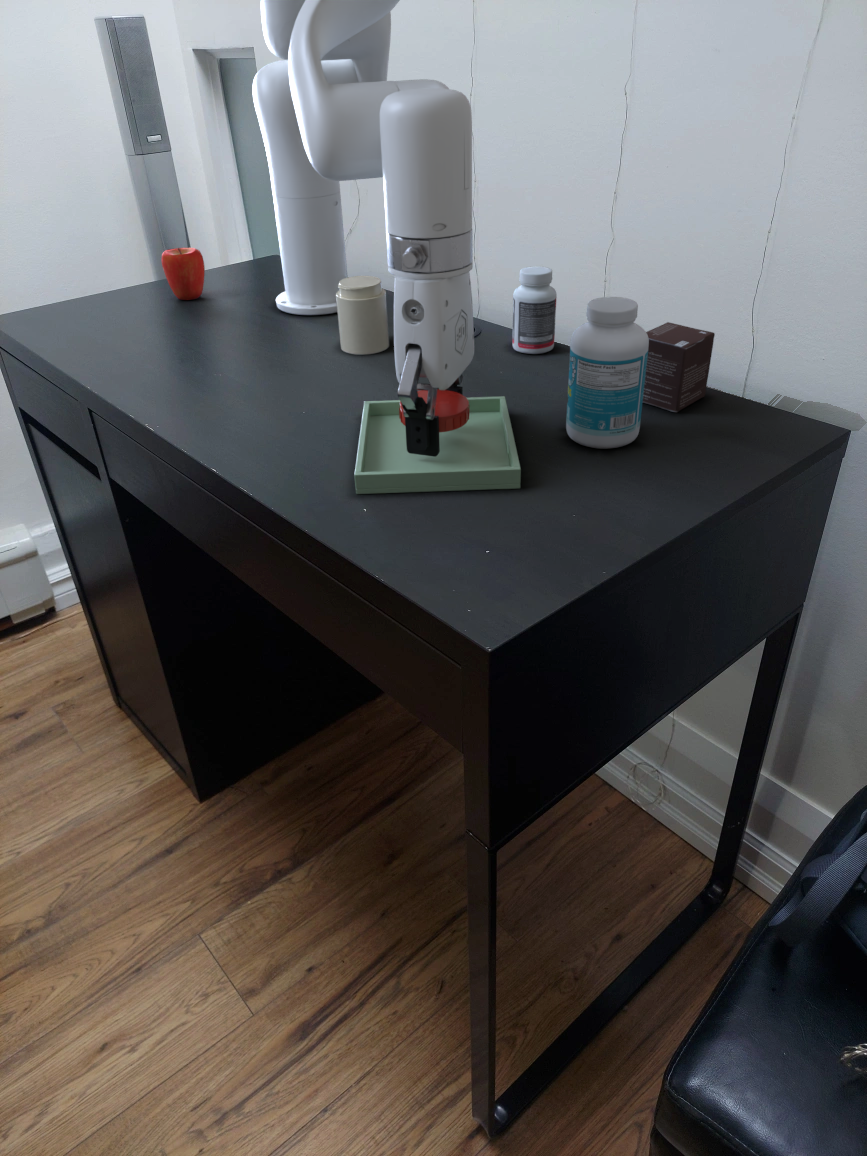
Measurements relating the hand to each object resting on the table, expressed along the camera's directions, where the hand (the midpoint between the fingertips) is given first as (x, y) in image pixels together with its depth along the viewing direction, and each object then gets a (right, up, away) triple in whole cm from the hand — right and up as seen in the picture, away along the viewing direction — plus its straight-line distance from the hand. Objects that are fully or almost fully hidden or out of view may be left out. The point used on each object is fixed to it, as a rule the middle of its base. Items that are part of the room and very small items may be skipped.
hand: (435, 436), depth 84 cm
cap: (0, +3, -2) cm, 3 cm away
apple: (-39, +30, +49) cm, 69 cm away
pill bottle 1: (+13, +15, +25) cm, 32 cm away
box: (+26, +6, +10) cm, 28 cm away
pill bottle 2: (+17, 0, +2) cm, 17 cm away
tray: (0, -1, +1) cm, 1 cm away
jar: (-9, +17, +27) cm, 33 cm away
